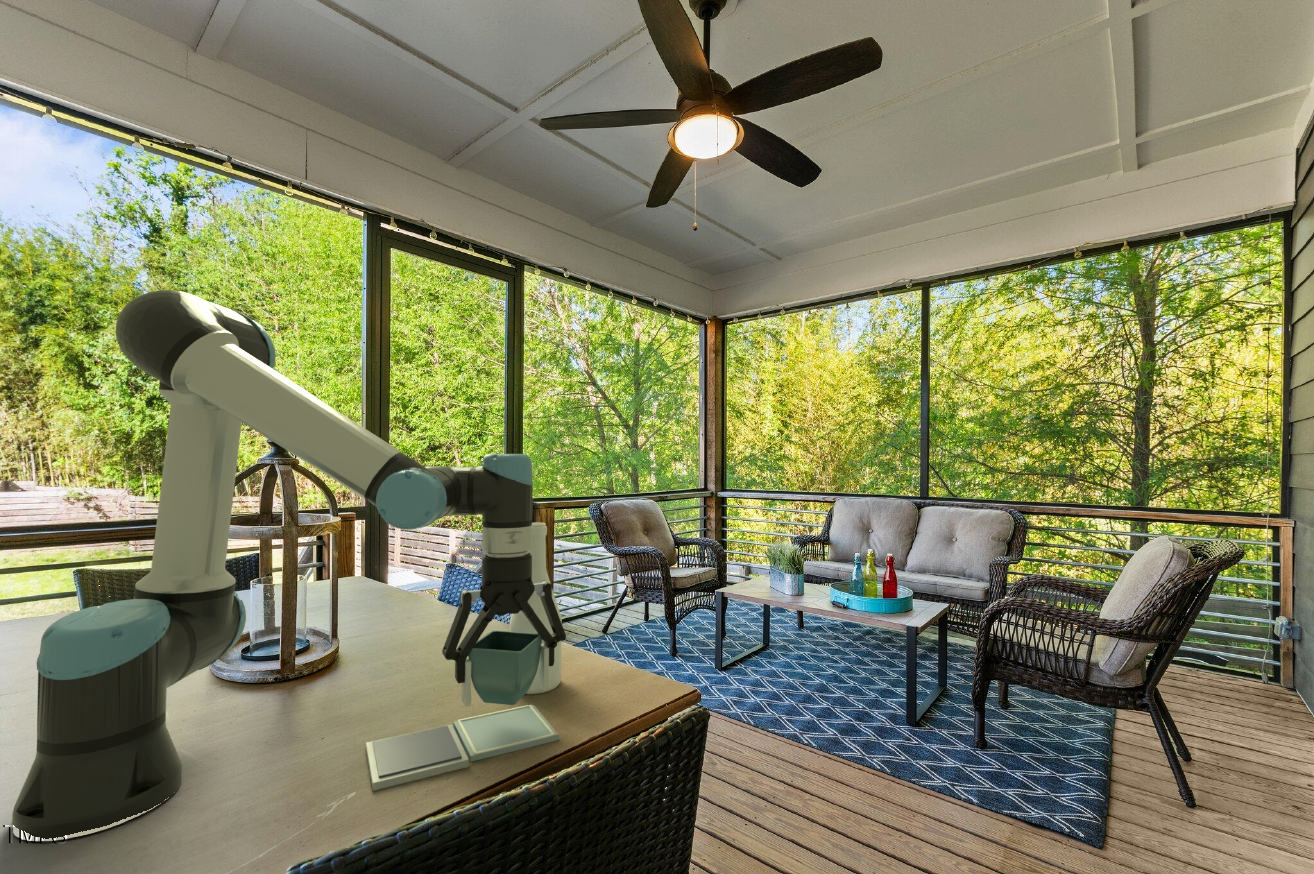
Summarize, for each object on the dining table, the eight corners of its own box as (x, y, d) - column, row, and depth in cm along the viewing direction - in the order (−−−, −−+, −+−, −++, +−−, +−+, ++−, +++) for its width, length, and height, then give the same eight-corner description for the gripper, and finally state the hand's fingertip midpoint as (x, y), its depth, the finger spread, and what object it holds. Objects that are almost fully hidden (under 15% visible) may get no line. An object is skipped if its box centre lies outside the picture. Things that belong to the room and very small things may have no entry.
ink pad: (372, 790, 76) (372, 780, 76) (365, 749, 87) (366, 740, 87) (468, 766, 82) (468, 757, 82) (451, 730, 92) (451, 722, 92)
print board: (470, 761, 83) (470, 754, 83) (453, 726, 94) (453, 720, 94) (558, 740, 90) (558, 733, 90) (533, 709, 100) (533, 703, 100)
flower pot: (521, 713, 87) (521, 651, 87) (465, 708, 88) (465, 647, 88) (543, 689, 95) (543, 633, 96) (492, 685, 97) (492, 629, 97)
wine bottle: (516, 675, 115) (518, 520, 116) (565, 676, 115) (567, 520, 116) (502, 695, 106) (504, 526, 106) (555, 696, 106) (557, 527, 106)
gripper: (430, 564, 83) (429, 721, 83) (587, 550, 95) (586, 688, 95) (422, 555, 90) (420, 701, 89) (570, 543, 101) (569, 672, 101)
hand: (506, 695), depth 92 cm, fingers closed on flower pot, 11 cm apart
